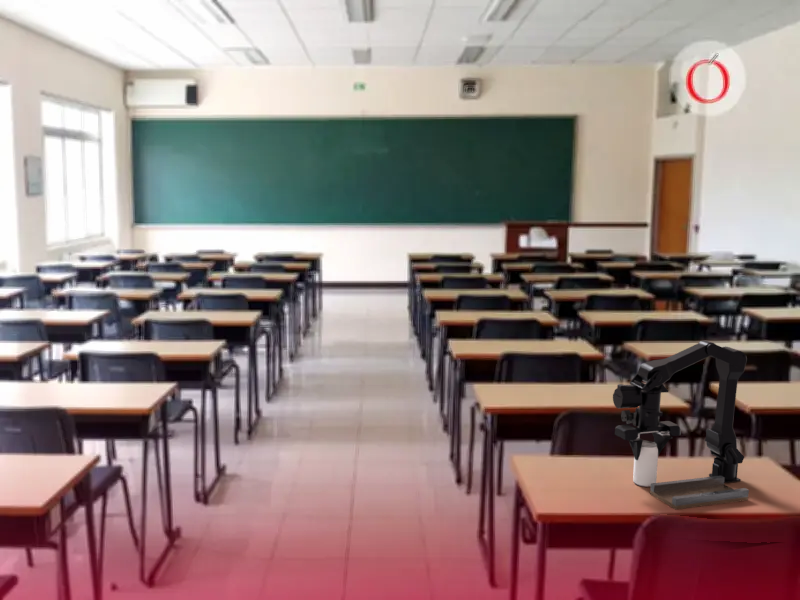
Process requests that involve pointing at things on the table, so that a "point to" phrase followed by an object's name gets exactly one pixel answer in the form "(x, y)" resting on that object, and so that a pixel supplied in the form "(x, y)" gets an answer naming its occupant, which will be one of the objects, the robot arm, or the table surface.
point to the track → (697, 492)
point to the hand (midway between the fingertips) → (645, 458)
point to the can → (646, 465)
